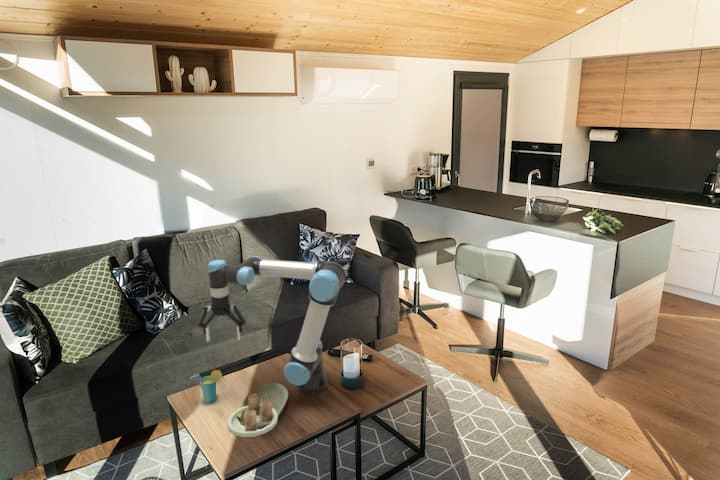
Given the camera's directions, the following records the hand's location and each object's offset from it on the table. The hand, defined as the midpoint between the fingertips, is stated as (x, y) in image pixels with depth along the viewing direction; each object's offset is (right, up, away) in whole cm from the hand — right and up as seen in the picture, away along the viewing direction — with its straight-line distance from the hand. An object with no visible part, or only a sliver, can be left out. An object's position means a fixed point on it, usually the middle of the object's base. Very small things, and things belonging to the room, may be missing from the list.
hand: (223, 339), depth 221 cm
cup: (-7, -28, 0) cm, 29 cm away
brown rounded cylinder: (+22, -30, -16) cm, 41 cm away
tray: (+17, -31, -16) cm, 39 cm away
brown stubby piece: (+16, -29, -11) cm, 35 cm away
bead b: (+17, -32, -22) cm, 43 cm away
